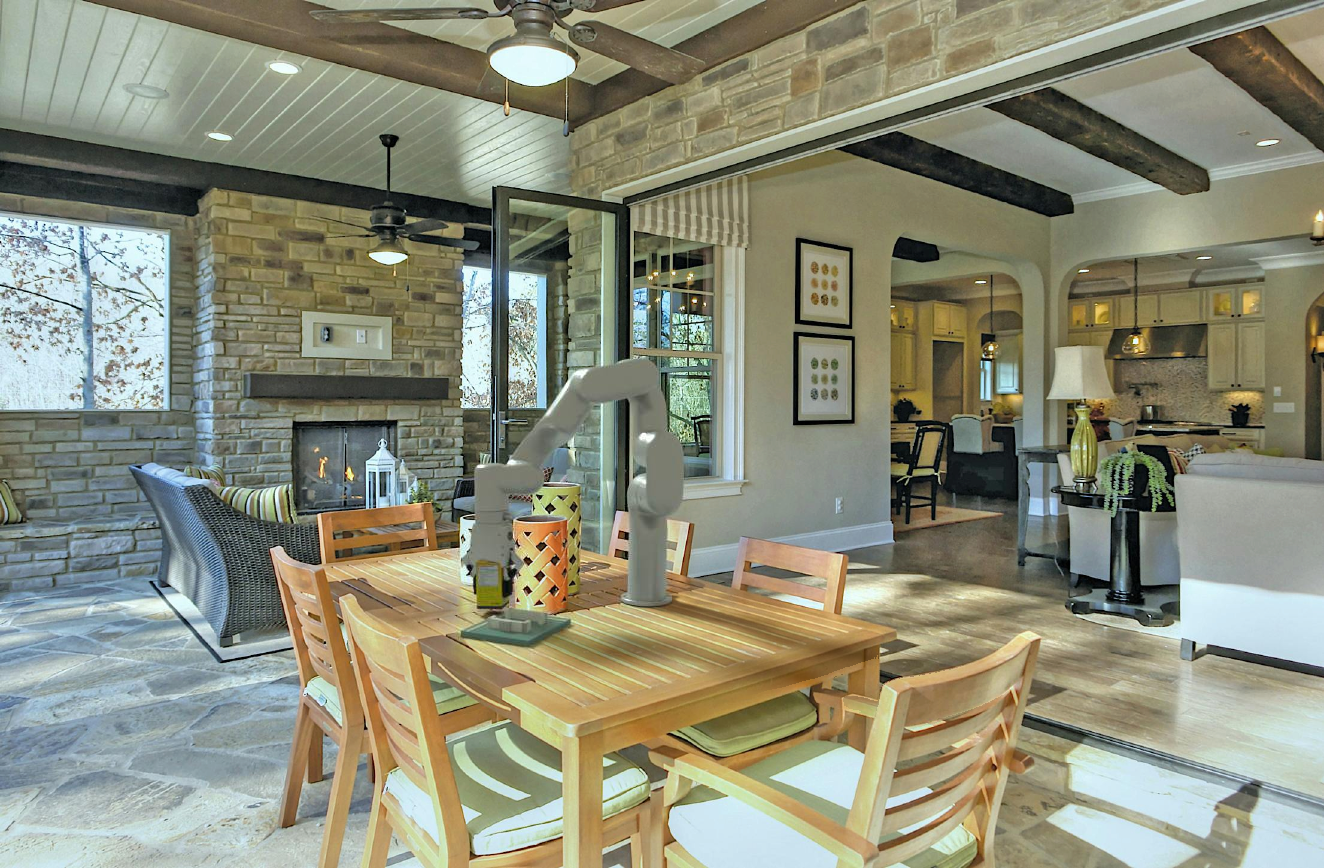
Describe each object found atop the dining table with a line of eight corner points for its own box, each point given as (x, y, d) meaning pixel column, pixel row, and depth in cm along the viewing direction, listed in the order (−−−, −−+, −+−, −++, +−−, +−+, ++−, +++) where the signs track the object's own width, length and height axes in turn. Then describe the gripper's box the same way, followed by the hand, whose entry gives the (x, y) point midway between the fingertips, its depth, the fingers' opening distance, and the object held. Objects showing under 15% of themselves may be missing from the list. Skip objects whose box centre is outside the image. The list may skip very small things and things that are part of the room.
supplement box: (509, 603, 186) (508, 556, 186) (501, 610, 180) (501, 562, 180) (484, 602, 187) (484, 556, 186) (476, 609, 181) (475, 561, 180)
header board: (507, 615, 181) (508, 601, 181) (570, 624, 176) (571, 609, 176) (460, 636, 165) (460, 621, 164) (528, 646, 159) (528, 631, 159)
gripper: (533, 517, 183) (534, 594, 184) (469, 513, 189) (470, 587, 190) (516, 522, 176) (517, 602, 177) (450, 518, 182) (451, 595, 183)
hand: (493, 594), depth 183 cm, fingers closed on supplement box, 7 cm apart
